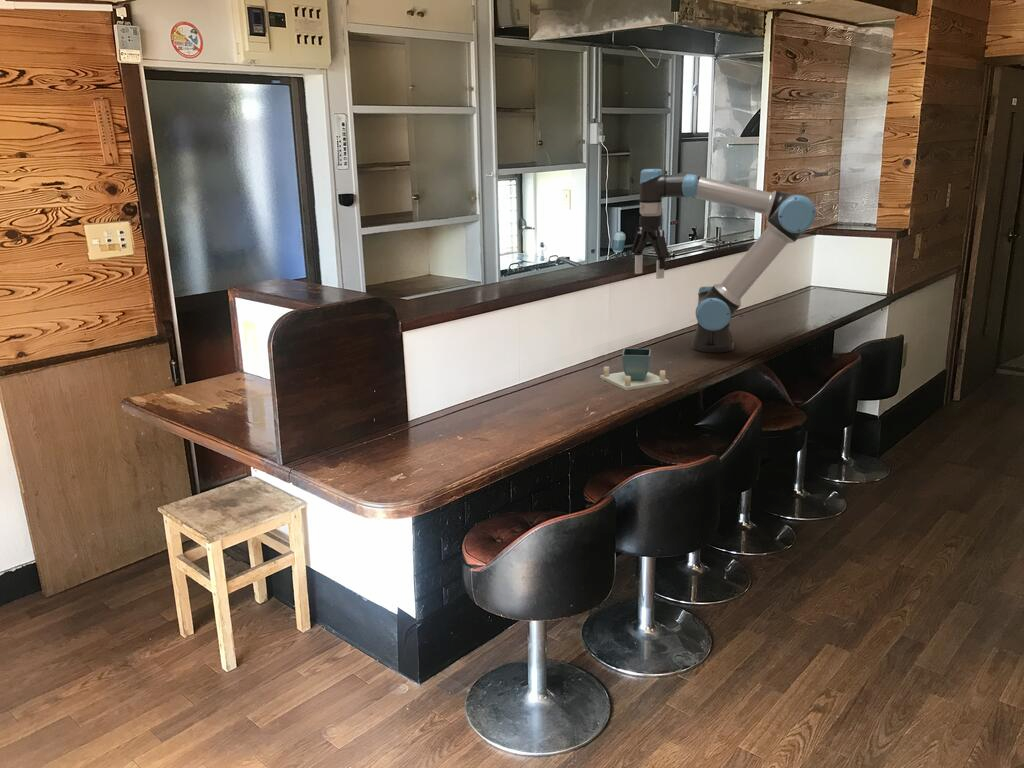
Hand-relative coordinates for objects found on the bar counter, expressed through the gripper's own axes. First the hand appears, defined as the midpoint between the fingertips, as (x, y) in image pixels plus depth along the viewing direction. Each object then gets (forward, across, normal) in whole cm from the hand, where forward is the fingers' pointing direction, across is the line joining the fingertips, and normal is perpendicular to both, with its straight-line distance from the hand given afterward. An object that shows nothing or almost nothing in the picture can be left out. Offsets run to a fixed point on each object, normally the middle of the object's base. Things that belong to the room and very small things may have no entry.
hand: (649, 275), depth 296 cm
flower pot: (+28, +28, -23) cm, 46 cm away
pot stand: (+29, +27, -23) cm, 46 cm away
